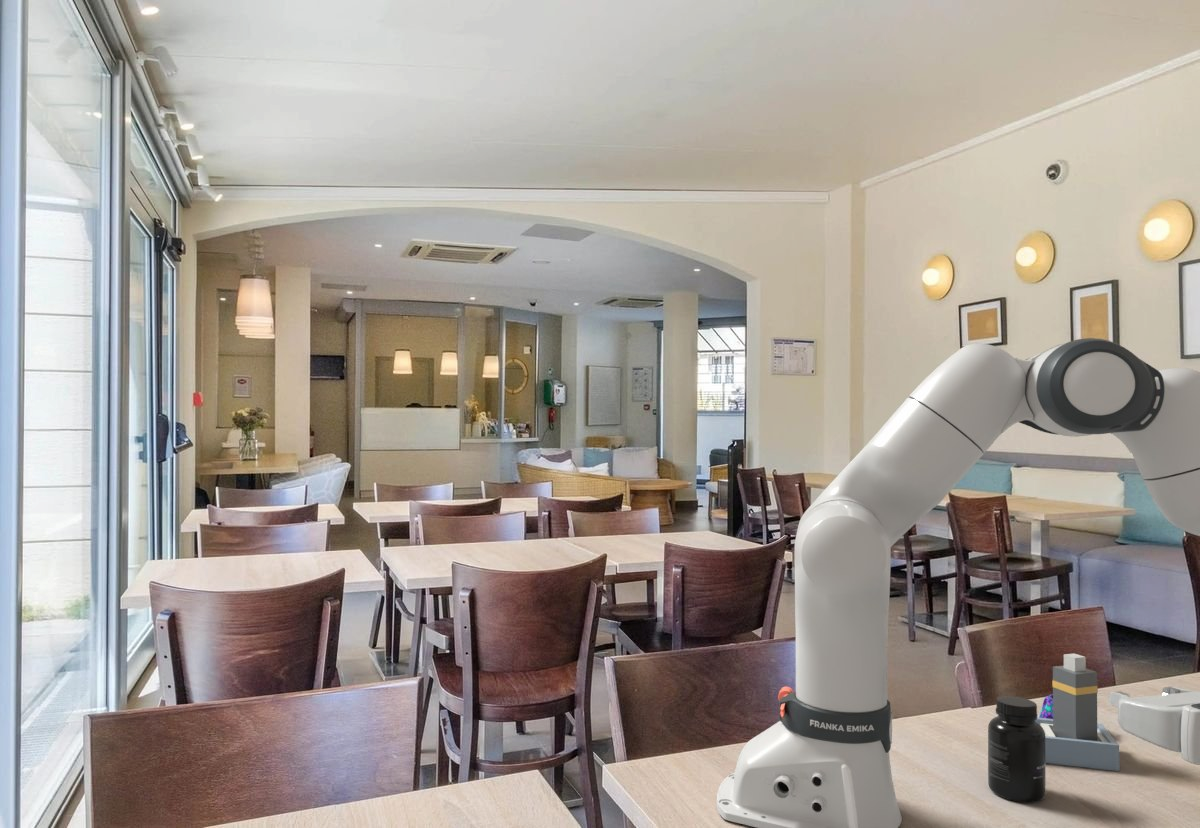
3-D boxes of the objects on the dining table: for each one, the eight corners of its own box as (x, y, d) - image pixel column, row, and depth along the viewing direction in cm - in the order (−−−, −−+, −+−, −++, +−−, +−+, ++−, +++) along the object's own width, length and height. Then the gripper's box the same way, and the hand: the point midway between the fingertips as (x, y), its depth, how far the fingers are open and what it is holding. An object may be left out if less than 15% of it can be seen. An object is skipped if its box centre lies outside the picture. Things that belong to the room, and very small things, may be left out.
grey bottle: (1076, 758, 121) (1075, 660, 121) (1052, 747, 125) (1052, 653, 125) (1098, 754, 122) (1097, 658, 122) (1074, 744, 126) (1073, 651, 126)
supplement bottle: (1053, 806, 107) (1052, 711, 107) (995, 801, 108) (995, 708, 108) (1036, 784, 113) (1036, 695, 113) (982, 779, 115) (982, 691, 115)
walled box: (1009, 759, 122) (1009, 734, 122) (999, 737, 130) (999, 714, 130) (1119, 771, 118) (1119, 745, 118) (1101, 747, 126) (1101, 723, 126)
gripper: (1307, 698, 103) (1197, 666, 116) (1184, 711, 97) (1082, 676, 110) (1306, 750, 103) (1196, 712, 116) (1183, 766, 97) (1081, 724, 110)
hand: (1140, 694), depth 113 cm, fingers open, 8 cm apart
